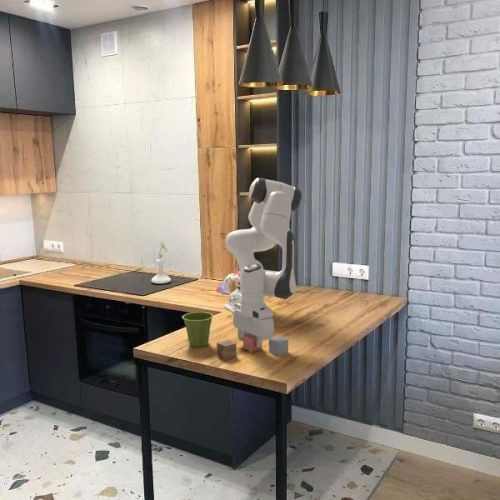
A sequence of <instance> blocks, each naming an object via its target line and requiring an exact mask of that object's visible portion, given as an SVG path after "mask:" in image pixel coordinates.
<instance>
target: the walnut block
mask: <svg viewBox="0 0 500 500" xmlns="http://www.w3.org/2000/svg"><path fill="white" fill-rule="evenodd" d="M216 356H217V357H219V358H221V359H223V360H225V359H226V360H228V359H232V358H235V356H236V357H237V343H236V342H234V341H232V340H229V339H225V340H222V341H218V342H216Z"/></svg>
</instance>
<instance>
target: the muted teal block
mask: <svg viewBox="0 0 500 500" xmlns="http://www.w3.org/2000/svg"><path fill="white" fill-rule="evenodd" d="M248 334H250V333H248ZM237 338H238V339H241V340H243V334H242V330H240V329H238V328H237Z"/></svg>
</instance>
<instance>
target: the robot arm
mask: <svg viewBox="0 0 500 500" xmlns="http://www.w3.org/2000/svg"><path fill="white" fill-rule="evenodd" d="M302 197H303V194H302V190H301V189H300V188H298V187H296V186H292V185H289V184H288V183H285V182H281V181H277V180H272V179H271V180H270V179H266V178H265V177H264V178H263V177H257V178H255V179H254V180H253V181H252V183H251V185H250V187H249V198H250V200H251V201H252V202H253V204H252V206H251V208H250V211H249V213H248V221H249V223H250V225H251V226H252V227H251V228H246V229H244V228H243V229H237V230H234V231H231V232H229V233H227V236H226V237H225V246H226V249H227V250H228V252H229V253H230V254H231V255H233V256H234V257H235V259H236V261H237V264H238V271H239V275H240V281H239V282H238V283H237V284H238V286H237V289H236V290H235V291H234V292H232V293H231V294H228V301H227V303H225V304H224V303H223V305H222V306H223V308H225V309H227V310H228V311H229V312H231V313H233V314H232V325H233V327H234V328H235V329H237V330H238V329H240V330H242V334H243V335H246V334H248V333H250V334H253V335H256V336H257V342H255V346H256V347H261V342H262V343H263V340H269V339H270V338H274V335H275V334H274V333H275V327H274V326H275V323H274V322H275V321H274V318H273V317H274V314H275V313H274V310H272V309H271V308H270V307H269V306H268V305H267V302H266V297H273V298H278V299H280V300H281V299H283V300H287V299H289V298H291V297H292V296H293V295H294V294H295V293H296V290H297V289H296V288H297V281H296V238H295V235H294V232H292V231H291V229H290V221H291V216H292V212H295V211H297V210H298V209H299V207H300V206H301V203H302V199H303V198H302ZM276 244H277V245H279V247H280V248H281V249H282V264H281V265H282V267H281V270H280V271H277V270H275V271H274V270H269V269H267V270H266V269H264V266H263V264H262V263H261V261H259V260H257V259H256V257H255V255H254V253H257V252H258V253H259V252H266V251H267V250H270V249H272V248H274V246H275V245H276Z"/></svg>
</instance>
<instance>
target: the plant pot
mask: <svg viewBox="0 0 500 500" xmlns="http://www.w3.org/2000/svg"><path fill="white" fill-rule="evenodd" d="M213 317H214V314H213V313H211V312H207V311H195V312H188V313H185V314H184V315H183V314H182V316H181V318H182V319H183V322H184V325H185V329H186V334H187V338H188V343H189V346H190V347H196V348H202V347H205V346H207V345H208V344H209V342H210V341H209V339H210V331H211V325H212V319H213Z"/></svg>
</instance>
